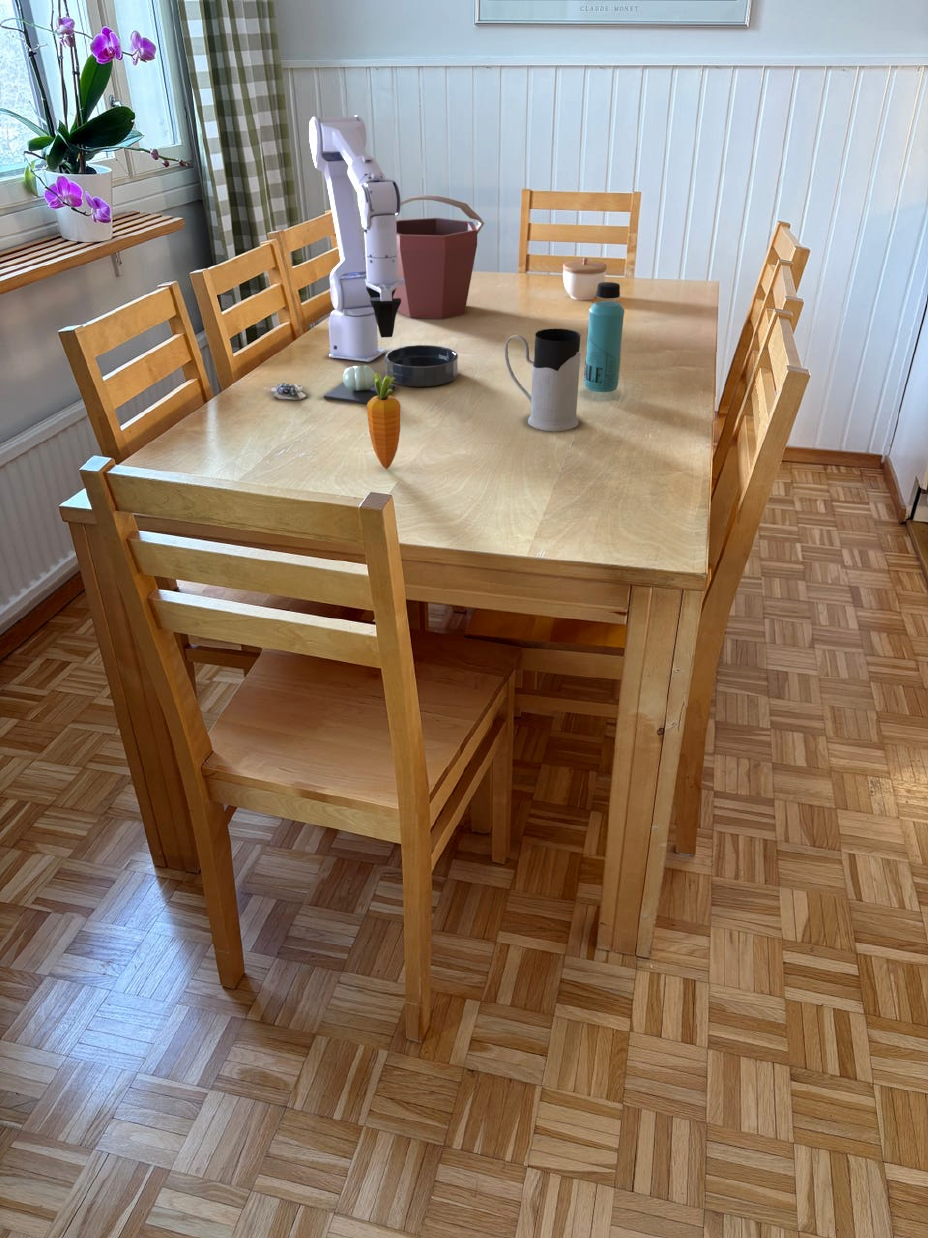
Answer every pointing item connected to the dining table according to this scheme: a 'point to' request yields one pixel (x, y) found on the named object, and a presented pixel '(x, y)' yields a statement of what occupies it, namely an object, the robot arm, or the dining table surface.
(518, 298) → the dining table surface
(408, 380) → the basin
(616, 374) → the beverage bottle
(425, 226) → the bucket
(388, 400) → the carrot
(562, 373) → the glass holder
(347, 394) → the mat
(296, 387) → the blueberries
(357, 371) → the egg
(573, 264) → the trinket box
